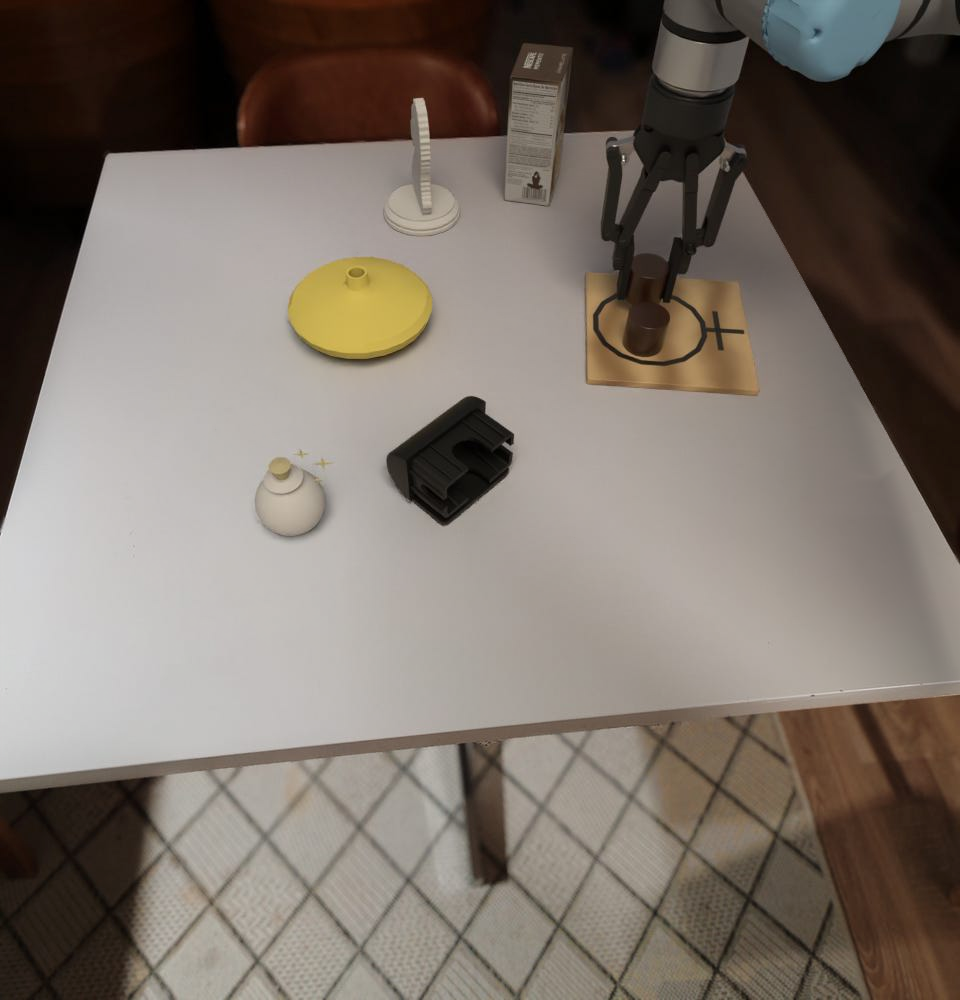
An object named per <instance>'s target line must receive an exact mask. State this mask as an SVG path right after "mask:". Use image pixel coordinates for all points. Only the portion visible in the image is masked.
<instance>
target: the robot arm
mask: <svg viewBox="0 0 960 1000" xmlns="http://www.w3.org/2000/svg"><path fill="white" fill-rule="evenodd" d="M657 35H658V36H657V39H656V43H655V50H654V55H653V59H652V65H651V69H652V73H651V75H650V76H649V80H648V84H647V90H646V94H645V95H646V96H645V101H644V105H643V110H642V115H641V121H640V123H639V124H638V126H637V127H636V128H635V129H634V131H633V134H632V135H631V136H628V137H625V138H621V139H619V140H618V138H617V137H616V136H610V137H608V138H607V139H606V140H605V156H606V162H607V166H608V169H607V174H606V184H605V189H604V190H605V191H604V198H603V204H602V211H601V219H600V238H601V240H602V241H603V242H613V243H614V246H613V251H612V256H611V263H612V264H611V265H612V269H613V271H619V272H618V274H619V275H618V280H617V300H624V299H625V294H626V290H627V285H628V280H629V276H630V271H631V266H632V262H633V257H634V256H635V252H636V245H635V232H636V231H637V228H638V226H639V224H640V222H641V219H642V218H643V216H644V213H645V212H646V209H647V207H648V205H649V202H650V201H651V199H652V196H653V194H654V193H655V192H656V191H657V190H658V187H659V184H660V182H668V181H673V182H678V183H681V184H682V195H681V196H682V200H681V201H682V202H681V203H682V204H681V205H682V208H681V209H682V211H681V213H682V215H681V237H677V236H674V237H673V240H672V242H671V247H670V251H669V255H668V259H667V262H668V264H669V268H670V269H669V274H668V278H667V281H666V285H665V289H664V293H663V297H662V299H663V303H670V300H671V296H672V293H673V289H674V285H675V282H676V278H678V275H686V274H688V273H687V272H688V271H689V268H690V265H691V262H692V259H693V256H694V255H696V253H697V251H698V250H697V248H700V247H705V248H711V247H713V246H714V245H715V243H716V241H717V237H718V235H719V232H720V229H721V226H722V223H723V219H724V217H725V214H726V211H727V208H728V205H729V202H730V198H731V196H732V193H733V190H734V187H735V183H736V181H737V180H738V178H739V177H740V176H741V175H742V173H743V172H744V170H745V169H746V168H747V166H748V164H749V160H748V155H747V152H746V151H747V150H746V147H745V145H744V144H742V143H737V144H735V145H733V144H731V143H729V142H727V141H726V140H725V139H726V138H725V134H724V133H725V132H724V131H725V128H726V125H727V121H728V118H729V115H730V110H731V107H732V103H733V99H734V96H735V92H736V86H735V84H736V83H737V81H738V80H739V78H740V74H741V71H742V67H743V64H744V60H745V56H746V52H747V48H748V45H749V41H750V40H751V41H753V42H754V43H755V44H757V45H758V46H759V47H760V48H761V49H762V50H764V51H765V52H766V53H768V54H769V55H770V56H772V58H773V59H774V60H775V61H776V62H778V63H779V64H780V65H781V66H783V67H788V68H789V69H790V70H792V71H796V72H798V73H800V74H801V75H803V76H804V77H806V78H808V79H810V80H813V81H815V82H820V83H821V82H823V83H826V82H828V83H829V82H834V81H837V80H840V79H842V78H845V77H848V76H849V75H850V74H851V72H852V70H853V69H855V68H857V67H858V66H863V65H864V64H866V63H867V62H869V60H870V59H871V58H872V57H873V56H874V55H875V54H876V53H877V52H878V50H879V49H880V48H881V47H882V45H883V44H884V43H887V42H892V41H893V42H894V41H895V40H899V39H905V38H912V37H919V36H925V35H951V36H960V0H664V1H663V7H662V15H661V19H660V25H659V30H658V34H657ZM634 152H636V154H637V156H638V158H639V160H640V162H641V164H642V168H641V171H640V176H639V178H638V180H637V183H636V185H635V187H634V189H633V191H632V194H631V196H630V198H629V201H628V203H627V205H626V207H625V210H624V212H623V214H622V216H621V219H620V220H619V223H616V220H617V219H616V218H617V213H618V207H619V201H620V194H621V190H622V181H623V167H624V166H626V165H627V164H628V163H629V162H630V157H631V154H632V153H634ZM718 158H719V159H718ZM716 159H718V163H719V169H718V171H717V175H716V178H715V181H714V184H713V188H712V191H711V194H710V199H709V201H708V204H707V207H706V211H705V214H704V217H703V220H702V223H701V227H699V228H697V227H698V226H697V221H698V193H699V175H700V174H701V173H702V172H703V171H704V170H706V169H707V168H708V167H709V166H710V165H711V164H712V163H713V162H714V161H715V160H716Z"/></svg>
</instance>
